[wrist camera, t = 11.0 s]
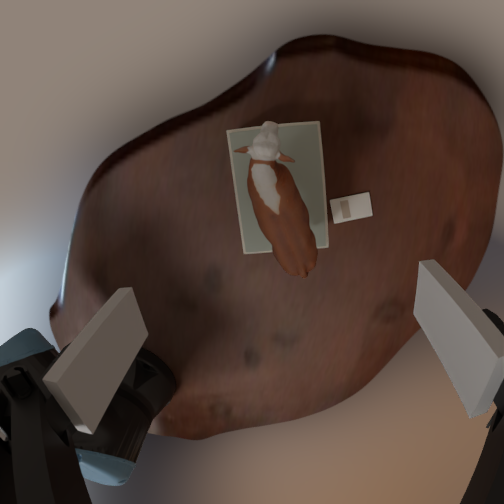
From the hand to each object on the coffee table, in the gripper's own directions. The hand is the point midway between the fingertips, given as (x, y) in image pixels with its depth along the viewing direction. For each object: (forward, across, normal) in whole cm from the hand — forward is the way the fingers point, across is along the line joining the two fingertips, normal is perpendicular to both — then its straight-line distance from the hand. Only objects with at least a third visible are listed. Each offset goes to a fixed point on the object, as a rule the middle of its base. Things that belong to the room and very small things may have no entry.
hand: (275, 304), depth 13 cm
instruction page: (+25, +9, -3) cm, 26 cm away
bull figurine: (+19, 0, +1) cm, 19 cm away
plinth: (+25, 0, +1) cm, 25 cm away
